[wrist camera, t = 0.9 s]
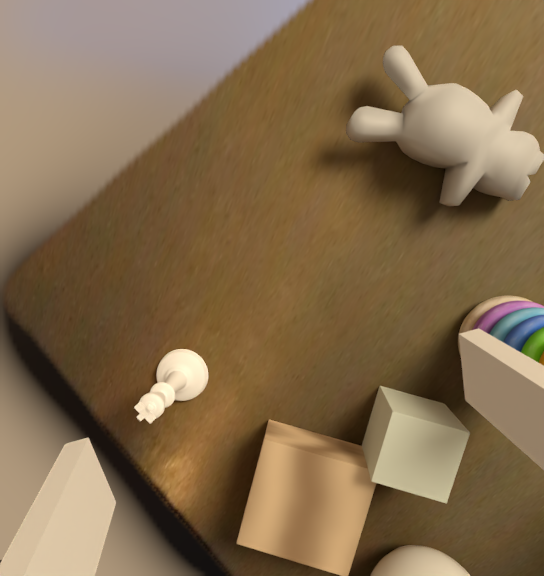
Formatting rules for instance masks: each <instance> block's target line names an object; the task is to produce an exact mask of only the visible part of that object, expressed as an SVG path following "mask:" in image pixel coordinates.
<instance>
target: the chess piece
mask: <svg viewBox="0 0 544 576" xmlns="http://www.w3.org/2000/svg"><path fill="white" fill-rule="evenodd" d="M156 376H157V382H158V383H156V384H155V385H154V386H153V387H152V388H151V390H150V393H148V394H145V395H144V396H142V398H141V399H140V401H139V403H138V404H137V405H136V406H135V407H134V408H135V409H136V410H137V411H138V412H139V413H140V414H139V415H138V416H137V418H138V419H139V420H140V421H142V420H143V419H144V418H145V419H146V420H147V421H148V422H149V423H150V424H151V423H152V422H153V421H154V420H155V418H158V417H159V416H161V415H162V413H163V412H164V409H165V407H168V406H170V405H171V404H172V403H173V402H174V400H179V401H186V400H190V399H193V398H195V397H196V396H198V395H199V394H200V393H201V392H202V391H203V390H204V389H205V387H206V385H207V382H208V369H207V366H206V364H205V362H204V360H203V359H202V358H201V357H200V356H199V355H198V354H196V353H195V352H193V351H190V350H187V349H177V350H173V351H171V352H169V353H168V354H166V355H165V356H164V357H163V359H162V360H161V362H160V363H159V365H158V368H157V373H156Z"/></svg>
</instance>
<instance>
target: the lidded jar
mask: <svg viewBox="0 0 544 576" xmlns="http://www.w3.org/2000/svg"><path fill="white" fill-rule="evenodd" d="M370 576H470V575H469V573H468V572H467V571H466V570H465V569H464V568H463V567H462V566H461V565H460V564H459V563H457V562H456V561H455V560H454V559H452V558H451V557H449V556H448V555H446V554H444V553H442V552H440V551H438V550H436V549H433V548H430V547H426V546H417V545H406V546H401V547H398V548H396V549H394V550H393V551H391V552H390V553H388V554H387V555H385V556H384V557H383V558H382V559H381V560H380V561H379V562H378V564H377V565H376V566H375V568H374V569H373V571H372V573H371V575H370Z"/></svg>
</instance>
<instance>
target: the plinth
mask: <svg viewBox="0 0 544 576" xmlns="http://www.w3.org/2000/svg"><path fill="white" fill-rule="evenodd" d="M375 486H376V483H375V482H372V481H371V478H370V474H369V471H368V467H367V463H366V460H365V456H364V452H363V449H362V446H361V445H357V444H353V443H350V442H346V441H343V440H339V439H336V438H332V437H329V436H325V435H322V434H318V433H315V432H311V431H308V430H304V429H301V428H297V427H294V426H290V425H287V424H283V423H280V422H276V421H273V420H269V421H268V424H267V428H266V432H265V436H264V439H263V443H262V447H261V451H260V455H259V458H258V462H257V466H256V470H255V473H254V477H253V481H252V485H251V488H250V492H249V496H248V500H247V504H246V507H245V511H244V515H243V519H242V523H241V527H240V531H239V536H238V540H237V544H239V545H242V546H246V547H249V548H252V549H256V550H259V551H262V552H265V553H269V554H272V555H275V556H279V557H282V558H285V559H288V560H292V561H295V562H298V563H301V564H305V565H308V566H311V567H315V568H318V569H321V570H324V571H328V572H331V573H334V574H338V575H341V576H348V575H349V572H350V568H351V565H352V562H353V558H354V555H355V552H356V549H357V545H358V542H359V539H360V535H361V532H362V529H363V526H364V522H365V519H366V516H367V512H368V509H369V506H370V503H371V499H372V496H373V493H374V489H375Z"/></svg>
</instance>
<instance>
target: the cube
mask: <svg viewBox="0 0 544 576" xmlns="http://www.w3.org/2000/svg"><path fill="white" fill-rule="evenodd" d="M469 434H470V432H469V431H468V430H467V429H466V428H465V427H464V425H463V424H462V423H461V422H460V421H459V420H458V419H457V417H456V416H455V415H454V414H453V413H452V412H451V411H450V409H449V408H448V407H447V406H446V405H445V404H444V403H441V402H437V401H433V400H430V399H426V398H423V397H419V396H415V395H412V394H408V393H404V392H401V391H397V390H394V389H390V388H386V387H383V386H379V389H378V393H377V396H376V399H375V403H374V406H373V409H372V413H371V416H370V419H369V423H368V426H367V429H366V433H365V436H364V440H363V443H362V449H363V452H364V456H365V460H366V463H367V467H368V471H369V474H370V478H371V481H372V482H375V483H379V484H382V485H385V486H389V487H392V488H396V489H399V490H402V491H406V492H409V493H413V494H416V495H420V496H423V497H426V498H430V499H433V500H437V501H440V502H444V503H447V500H448V497H449V494H450V491H451V488H452V485H453V482H454V479H455V476H456V473H457V470H458V467H459V464H460V461H461V458H462V455H463V452H464V449H465V446H466V443H467V440H468V437H469Z"/></svg>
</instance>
